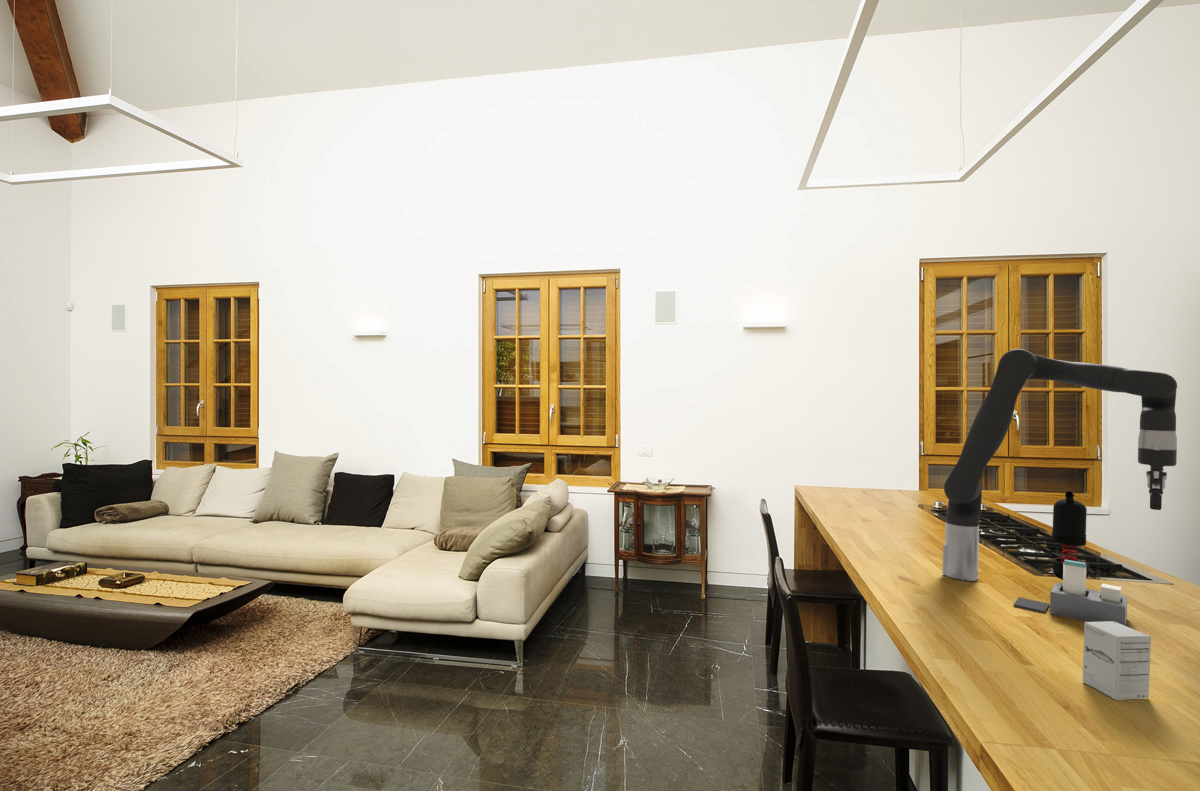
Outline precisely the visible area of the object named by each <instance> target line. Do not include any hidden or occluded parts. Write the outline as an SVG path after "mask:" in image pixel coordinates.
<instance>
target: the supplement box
mask: <svg viewBox="0 0 1200 791" xmlns="http://www.w3.org/2000/svg"><path fill="white" fill-rule="evenodd" d="M1083 629H1084V631H1083V632H1084V633H1083V657H1082V660H1083V661H1082V682H1083V683H1084V684H1087V685H1088V686H1090V687H1091V688H1094V689H1096V690H1098V691H1100V692H1101V693H1103V694H1105V695H1106V696H1108V697H1110V698H1112V699H1113V700H1115V701H1125V700H1124V699H1143V698H1149V696H1150V695H1149V694H1150V673H1151V672H1150V671H1151V668H1150V667H1151V645H1152V643H1151V640H1152V636H1151V635H1148V634H1145V633H1143V632H1141V631H1140V630H1139V631H1138V630H1136V629H1134V628H1132V627H1130V626H1124V625H1122V624H1120V623H1117V622H1114V621H1105V622H1084V628H1083Z"/></svg>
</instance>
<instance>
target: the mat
mask: <svg viewBox="0 0 1200 791" xmlns="http://www.w3.org/2000/svg"><path fill="white" fill-rule="evenodd" d="M1013 607H1014V608H1020V609H1023V610H1028V611H1032V610H1033V611H1032V612H1036V611H1037V613H1041V612H1042V614H1046V613H1047V611H1048V609H1049V608H1050V603H1048V602H1043V601H1038V600H1035V599H1034V600H1033V599H1028V598H1023V597H1018V598H1017V599H1016V601H1014V603H1013ZM1045 612H1046V613H1045Z"/></svg>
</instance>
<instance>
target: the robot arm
mask: <svg viewBox="0 0 1200 791" xmlns="http://www.w3.org/2000/svg"><path fill="white" fill-rule="evenodd" d="M1027 380H1046V381H1053V382H1060V383H1065V384H1071V385H1074V386H1077V387H1084V388H1089V389H1093V390H1099V391H1100V390H1101V391H1104V392H1112V393H1125V394H1130V395H1133V396H1139V397H1140V398H1141V412H1140V414H1139V415H1140V416H1139V433H1138V439H1137V440H1138V441H1137V444H1138V445H1137V463H1138V464H1140V465H1145V466H1149V469H1150V470H1146V475H1145V476H1146V479H1147V480H1146V481H1147V484H1146V486H1147V488H1148V494H1149V508H1150V509H1151V510H1153V511H1161V510H1162V505H1163V504H1162V499H1163V498H1162V497H1163V495H1164V489H1165V488H1166V480H1167V478H1168V477H1167V476H1168V472H1166V471H1164V467H1175V466H1176V465H1177V457H1178V456H1177V455H1178V453H1177V452H1178V438H1177V417H1176V416H1177V415H1176V402H1177V401H1176V400H1177V388H1178V383H1177V380H1176V379H1175V377H1173V376H1172V375H1170V374H1168V373H1166V372H1165V373H1164V372H1159V371H1150V370H1137V369H1130V368H1125V367H1122V366H1121V367H1120V366H1116V365H1115V366H1114V365H1108V364H1107V365H1106V364H1100V363H1099V364H1097V363H1093V362H1079V361H1078V362H1077V361H1066V360H1060V359H1055V358H1050V357H1046V356H1042V355H1039V354H1035V353H1033V352H1031V351H1028V350H1026V349H1024V348H1023V349H1022V348H1014V349H1011V350H1007V351H1006V352H1005V353H1003V355H1002V356H1001V357H1000V359H999V361H998V365H997V368H996V371H995V375H994V378H993V381H992V384H991V387H990V389H989V391H988V393H987V395H986V396H985V398H984V400H983V402H982V403H981V405H980V408H979V410H978V411H977V413H976V416H975V417H974V420H973V422H972V425H971V426H970V429H969V430H968V431H969V432H968V433H967V436H966V439H965V441H964V444H963V447H962V450H961V454H960V456H959V457H958V460H957V462H956V464H955V466H954V468H953V469H952V470H951V472H950V473H949V475H948V477H947V479H946V480H945V482H944V485H943V491H944V494H945V497H946V498H947V499H948V504H947V508H946V510H947V511H946V512H945V525H944V526H945V527H944V530H945V534H944V536H945V537H944V538H945V539H944V544H943V546H942V576H945V575H946V576H945V577H948V578H951V579H955V580H958V579H959V580H960V581H965V580H966V581H968V582H971V581H972V582H974V581H977V580H978V579H979V551H980V550H979V546H980V545H979V544H980V542H979V539H980V518H981V514H982V496H983V495H982V493H983V492H982V491H983V490H982V484H981V482H980V481H981V478H982V475H983V473H984V470H985V469H986V466H988V463H989V462H990V461H991V460H992V458H993V457H994V455H995V454H996V452H997V451H998V450H999V448H1000V446H1001V445H1002V443H1003V441H1004V440H1005V438H1006V435H1007V433H1008V431H1009V428H1010V426H1011V423H1012V419H1013V416H1014V412H1015V408H1016V402H1017V401H1018V400H1017V399H1018V396H1019V395H1020V393H1021V391H1022V389H1023V387H1024V386H1025V383H1026V382H1027Z"/></svg>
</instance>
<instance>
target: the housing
mask: <svg viewBox="0 0 1200 791" xmlns="http://www.w3.org/2000/svg"><path fill="white" fill-rule="evenodd" d="M1049 594H1050V597H1049V600H1050V601H1049V602H1050V603H1049V614H1050V615H1052V614H1054V616H1057V615H1059V616H1058V617H1061V616H1062V618H1067V619H1071V620H1075V621H1079V620H1080V622H1084V623H1085V622H1105V621H1114V622H1117V623H1120V624H1122V625H1124V626H1126V625H1127V621H1126V620H1128V596H1127V595H1124V594H1121V602H1116V601H1111V600H1106V599H1101V590H1097V589H1090V588H1087V587H1086V596H1081V595H1076V594H1071V593H1066V592H1063V583H1060V582H1055V583H1054V585H1053V586H1052V589H1051V590H1050V593H1049Z"/></svg>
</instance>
